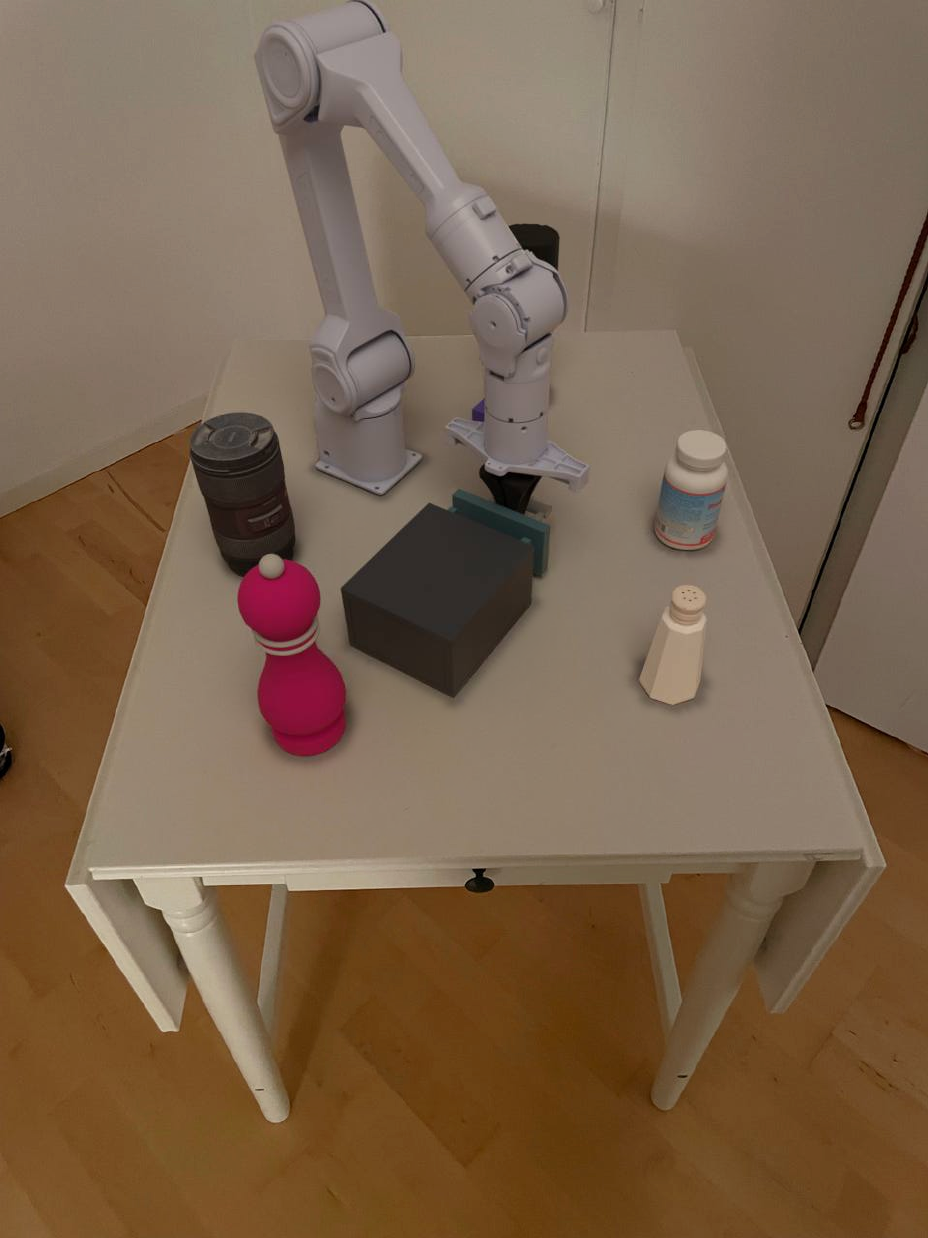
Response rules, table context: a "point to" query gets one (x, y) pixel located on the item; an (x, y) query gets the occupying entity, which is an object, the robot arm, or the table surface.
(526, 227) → the spray can
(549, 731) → the table surface
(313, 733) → the pepper mill
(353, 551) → the table surface
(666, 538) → the pill bottle
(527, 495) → the robot arm
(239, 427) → the camera lens
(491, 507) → the teal drawer
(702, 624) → the salt shaker
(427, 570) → the dark drawer box
